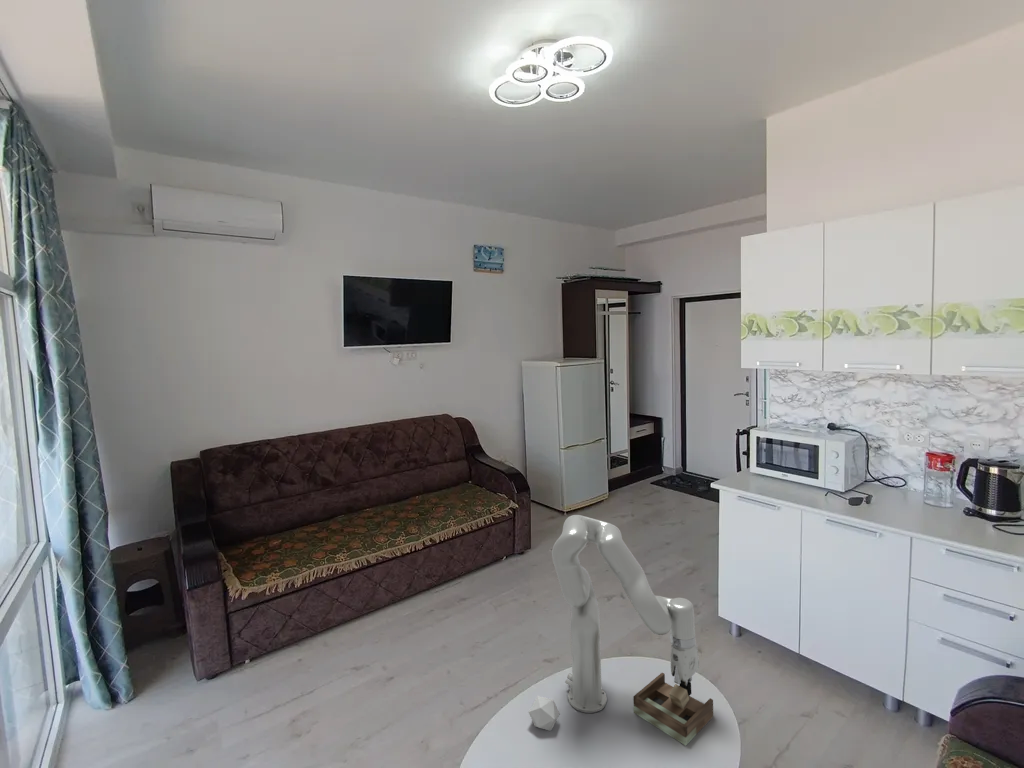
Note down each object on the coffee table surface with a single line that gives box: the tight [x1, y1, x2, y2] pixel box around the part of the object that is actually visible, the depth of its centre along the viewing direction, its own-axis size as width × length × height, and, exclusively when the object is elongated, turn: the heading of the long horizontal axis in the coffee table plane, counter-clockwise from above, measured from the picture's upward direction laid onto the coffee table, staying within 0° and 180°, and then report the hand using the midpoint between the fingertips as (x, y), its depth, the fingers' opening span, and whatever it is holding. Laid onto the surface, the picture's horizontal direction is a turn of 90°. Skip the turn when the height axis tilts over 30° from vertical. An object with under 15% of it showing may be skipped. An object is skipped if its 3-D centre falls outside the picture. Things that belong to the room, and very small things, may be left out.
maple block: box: [669, 683, 689, 709], centre depth 156 cm, size 4×4×4 cm
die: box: [528, 695, 561, 732], centre depth 153 cm, size 8×9×10 cm
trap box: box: [632, 672, 714, 747], centre depth 155 cm, size 18×16×6 cm
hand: (685, 693), depth 158 cm, fingers closed
